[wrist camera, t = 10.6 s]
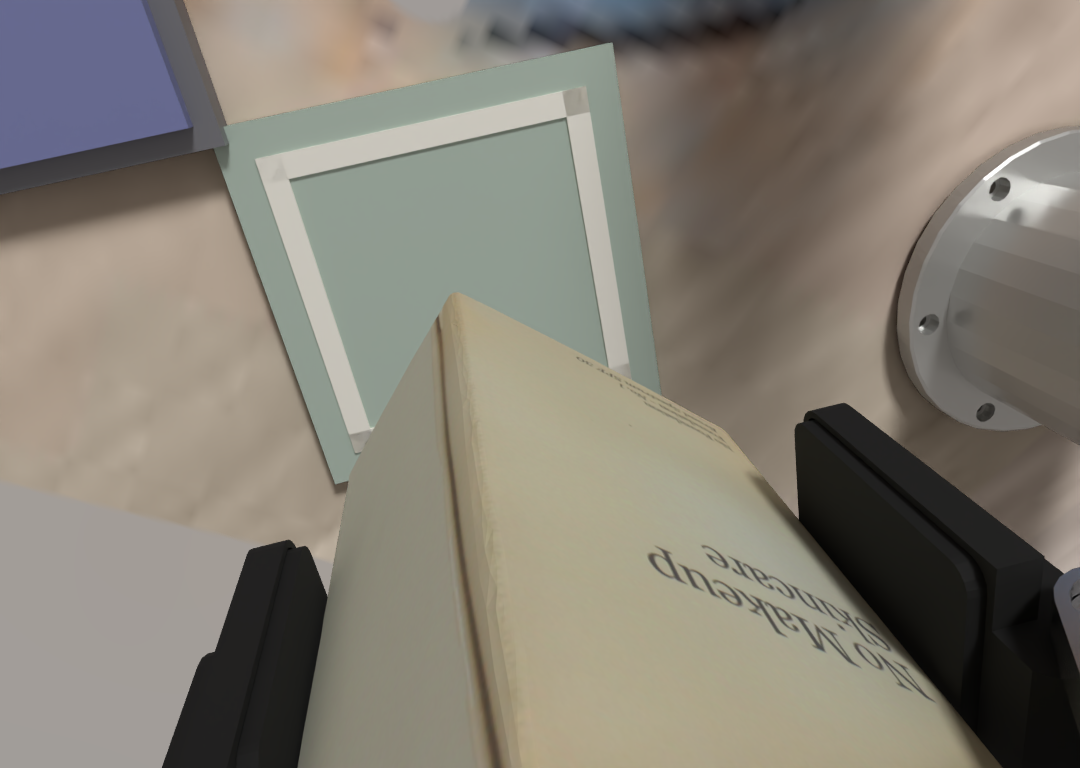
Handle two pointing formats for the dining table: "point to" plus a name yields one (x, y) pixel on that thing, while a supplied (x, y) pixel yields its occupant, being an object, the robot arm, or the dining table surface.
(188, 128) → the ink pad
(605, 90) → the marked board
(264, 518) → the dining table surface
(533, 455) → the skincare box
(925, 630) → the robot arm
